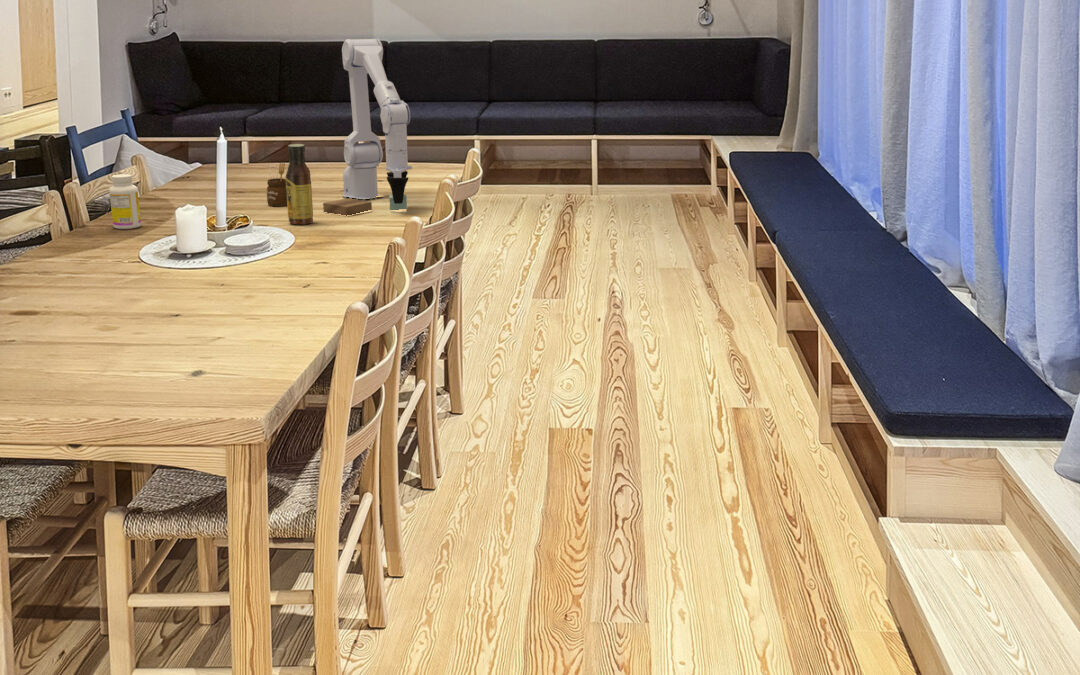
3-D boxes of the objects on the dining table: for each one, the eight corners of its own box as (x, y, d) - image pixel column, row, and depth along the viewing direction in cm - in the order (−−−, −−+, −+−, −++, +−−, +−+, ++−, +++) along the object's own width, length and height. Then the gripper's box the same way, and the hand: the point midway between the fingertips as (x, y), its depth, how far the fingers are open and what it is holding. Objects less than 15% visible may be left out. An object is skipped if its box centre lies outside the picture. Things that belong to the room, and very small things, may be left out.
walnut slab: (323, 214, 296) (323, 202, 295) (348, 209, 303) (348, 198, 302) (347, 218, 290) (346, 206, 290) (371, 213, 297) (371, 202, 296)
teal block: (390, 212, 296) (389, 197, 295) (390, 209, 301) (389, 194, 299) (407, 212, 297) (406, 197, 296) (406, 209, 301) (406, 194, 300)
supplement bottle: (130, 223, 280) (125, 172, 277) (147, 226, 277) (142, 175, 273) (107, 227, 275) (101, 175, 271) (124, 230, 272) (118, 178, 268)
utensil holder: (281, 202, 309) (279, 159, 306) (294, 205, 305) (291, 161, 302) (263, 205, 305) (260, 161, 302) (275, 208, 301) (272, 163, 298)
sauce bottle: (290, 220, 284) (285, 142, 278) (314, 220, 285) (310, 142, 279) (286, 226, 278) (281, 146, 272) (312, 225, 279) (307, 146, 273)
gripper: (412, 153, 288) (413, 205, 292) (411, 146, 301) (412, 195, 305) (384, 153, 287) (386, 205, 291) (384, 146, 300) (386, 196, 304)
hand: (398, 200), depth 298 cm, fingers open, 7 cm apart
